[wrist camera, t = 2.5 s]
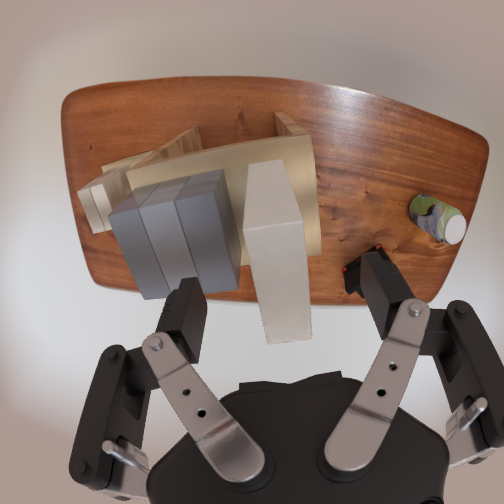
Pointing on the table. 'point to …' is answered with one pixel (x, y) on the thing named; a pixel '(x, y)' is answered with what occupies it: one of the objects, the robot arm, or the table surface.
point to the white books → (107, 191)
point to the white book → (277, 253)
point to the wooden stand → (205, 208)
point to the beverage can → (437, 219)
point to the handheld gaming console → (359, 271)
